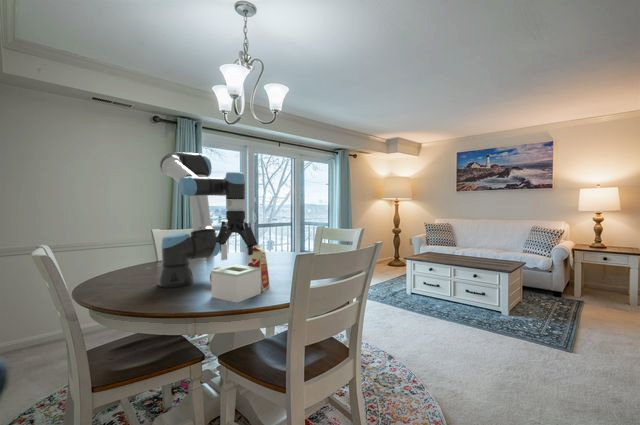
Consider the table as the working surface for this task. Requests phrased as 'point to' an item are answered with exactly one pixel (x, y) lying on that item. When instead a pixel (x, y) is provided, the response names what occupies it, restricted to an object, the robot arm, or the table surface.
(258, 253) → the milk carton
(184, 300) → the table surface
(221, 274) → the coin box
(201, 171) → the robot arm
